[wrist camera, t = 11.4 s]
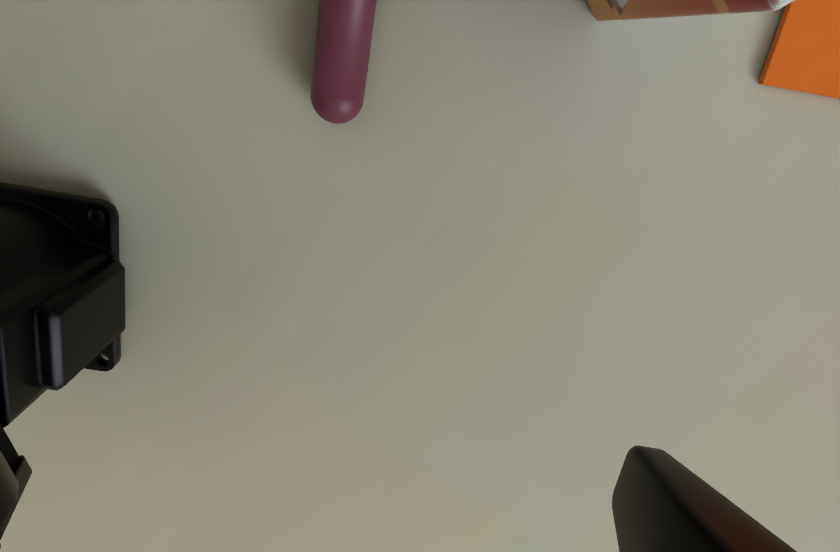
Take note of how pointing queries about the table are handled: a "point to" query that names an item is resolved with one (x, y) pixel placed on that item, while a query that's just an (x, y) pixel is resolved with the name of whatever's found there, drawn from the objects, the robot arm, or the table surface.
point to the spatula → (341, 58)
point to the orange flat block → (806, 49)
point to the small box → (676, 8)
